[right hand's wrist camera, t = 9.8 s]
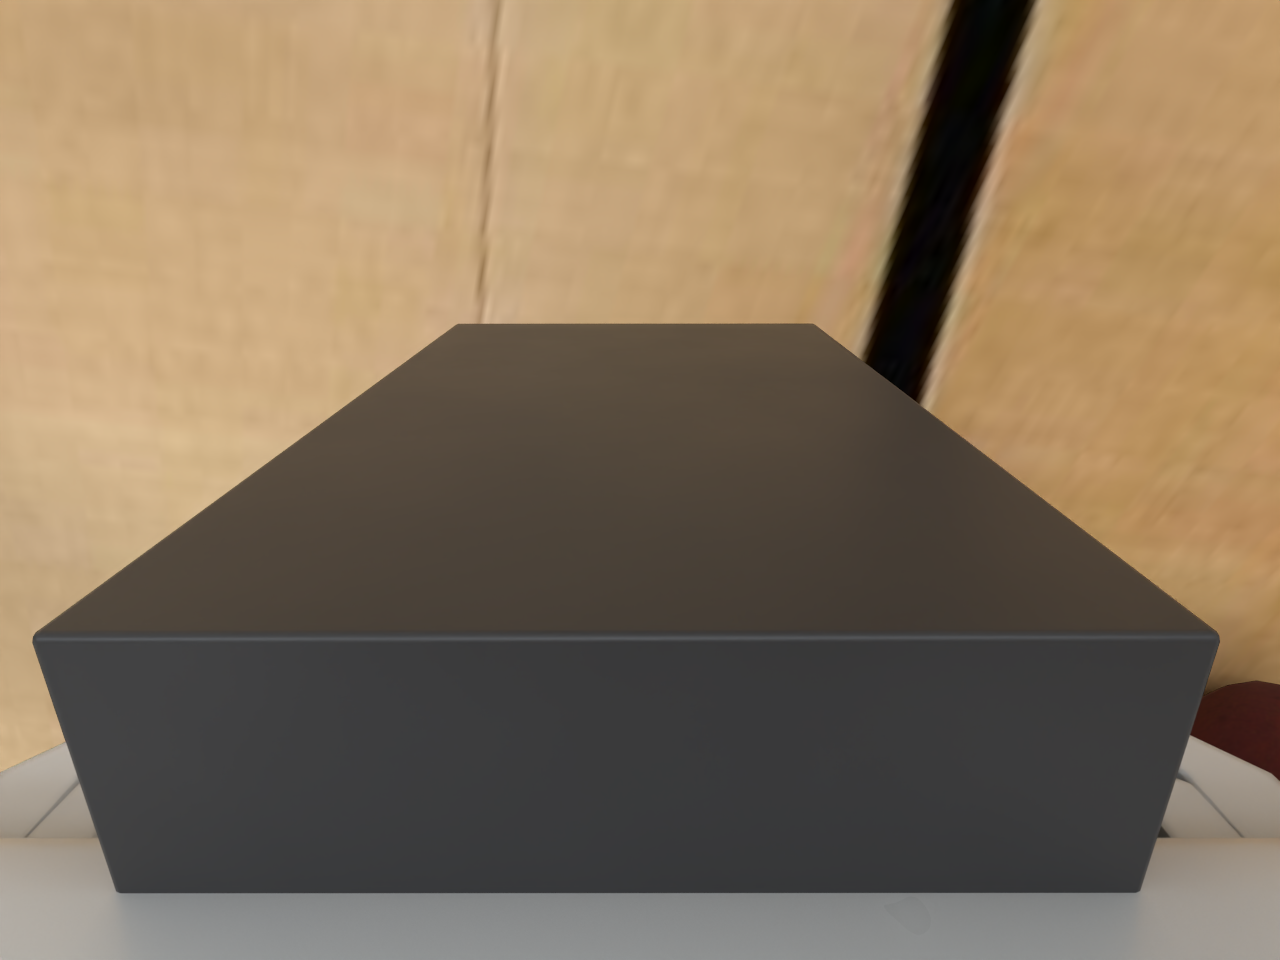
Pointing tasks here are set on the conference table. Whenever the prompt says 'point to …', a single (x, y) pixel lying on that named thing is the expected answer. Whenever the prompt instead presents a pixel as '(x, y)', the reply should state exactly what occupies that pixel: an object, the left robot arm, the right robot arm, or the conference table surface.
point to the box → (628, 645)
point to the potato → (1243, 723)
